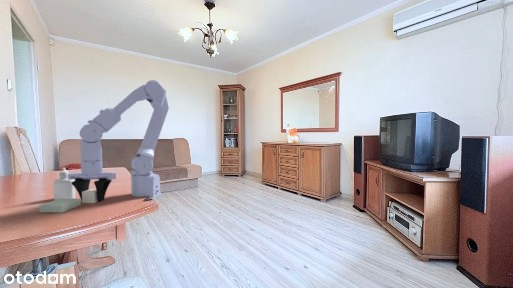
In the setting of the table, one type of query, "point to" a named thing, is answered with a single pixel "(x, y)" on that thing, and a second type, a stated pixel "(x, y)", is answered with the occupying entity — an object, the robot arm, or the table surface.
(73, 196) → the eye dropper bottle
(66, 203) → the sage slab
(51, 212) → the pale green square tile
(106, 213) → the table surface
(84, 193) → the cream block
